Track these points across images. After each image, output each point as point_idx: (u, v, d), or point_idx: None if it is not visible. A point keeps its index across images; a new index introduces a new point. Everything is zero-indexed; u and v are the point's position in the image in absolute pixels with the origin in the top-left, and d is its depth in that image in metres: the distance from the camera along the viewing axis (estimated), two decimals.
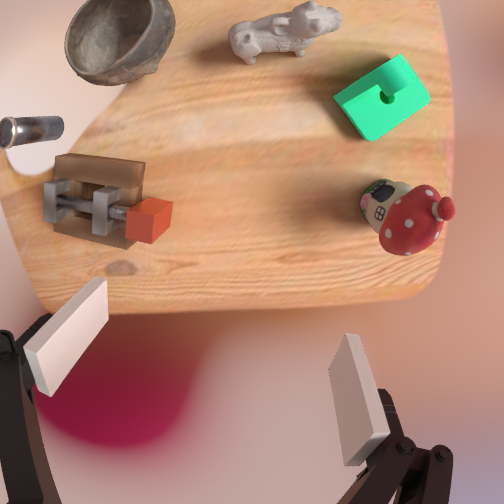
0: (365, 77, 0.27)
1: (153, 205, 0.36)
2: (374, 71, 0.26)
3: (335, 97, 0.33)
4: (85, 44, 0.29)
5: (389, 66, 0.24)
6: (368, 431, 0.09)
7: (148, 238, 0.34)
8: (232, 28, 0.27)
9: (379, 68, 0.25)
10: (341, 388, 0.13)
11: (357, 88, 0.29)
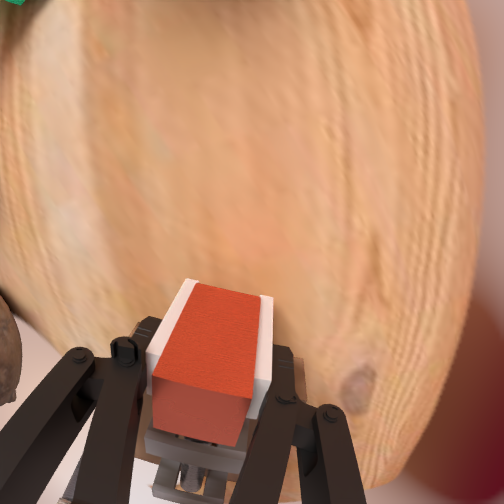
0: None
1: None
2: None
3: (14, 0, 0.10)
4: None
5: None
6: None
7: (231, 403, 0.10)
8: None
9: None
10: None
11: None
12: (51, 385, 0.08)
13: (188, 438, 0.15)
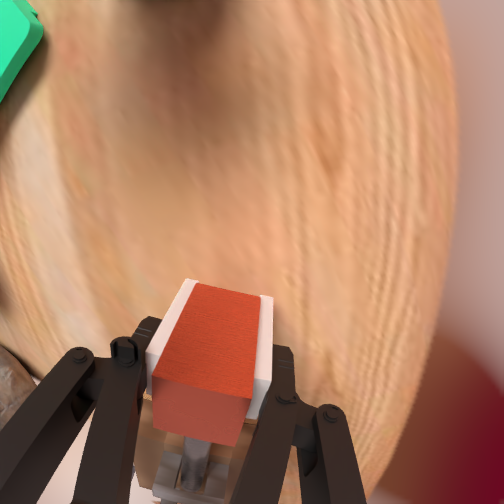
0: None
1: None
2: None
3: None
4: None
5: None
6: None
7: (231, 403, 0.10)
8: None
9: None
10: None
11: None
12: (51, 385, 0.08)
13: (188, 438, 0.15)
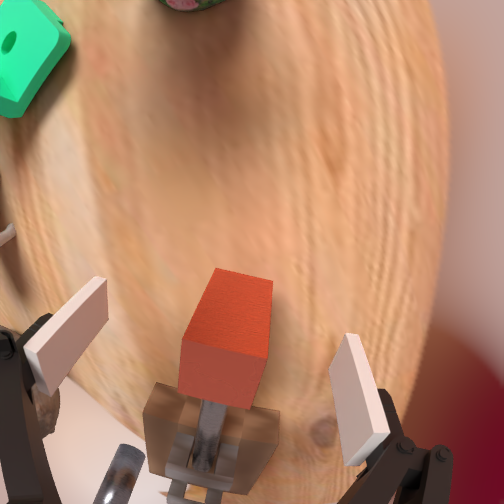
0: None
1: None
2: None
3: (14, 115, 0.16)
4: None
5: None
6: (368, 431, 0.09)
7: (249, 363, 0.12)
8: None
9: None
10: (341, 388, 0.13)
11: None
12: None
13: (204, 412, 0.17)
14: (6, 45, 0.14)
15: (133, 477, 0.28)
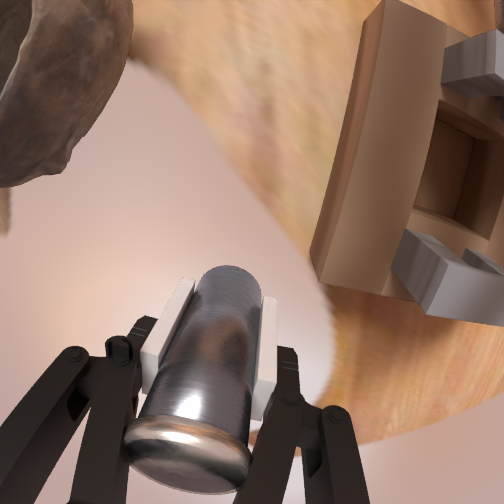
0: None
1: None
2: None
3: None
4: None
5: None
6: (256, 379, 0.11)
7: None
8: None
9: None
10: None
11: None
12: (47, 384, 0.08)
13: None
14: None
15: (255, 330, 0.14)
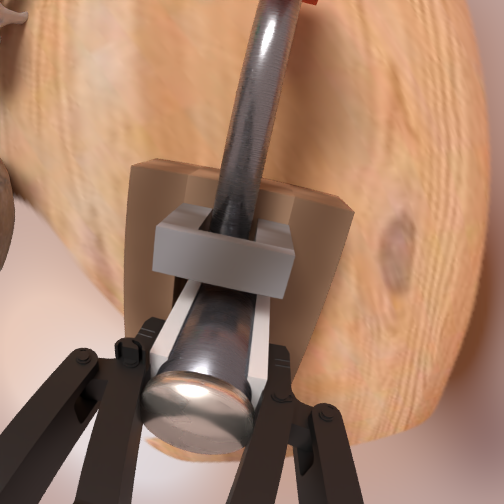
0: None
1: None
2: None
3: None
4: None
5: None
6: (247, 376, 0.11)
7: None
8: None
9: None
10: None
11: None
12: (54, 386, 0.08)
13: (255, 45, 0.10)
14: None
15: None
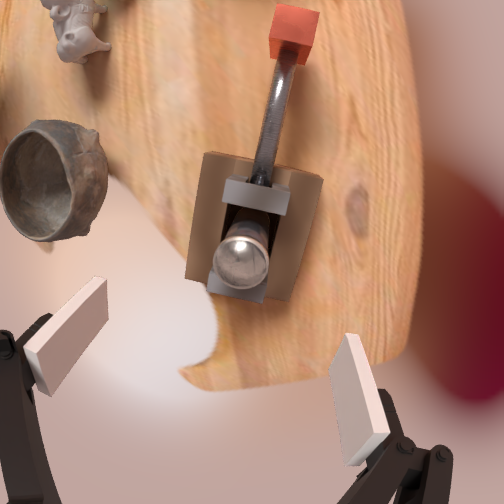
0: None
1: None
2: None
3: None
4: (61, 227, 0.32)
5: None
6: (368, 431, 0.09)
7: (311, 14, 0.18)
8: (61, 56, 0.23)
9: None
10: (341, 388, 0.13)
11: None
12: None
13: (272, 97, 0.24)
14: None
15: (267, 229, 0.31)
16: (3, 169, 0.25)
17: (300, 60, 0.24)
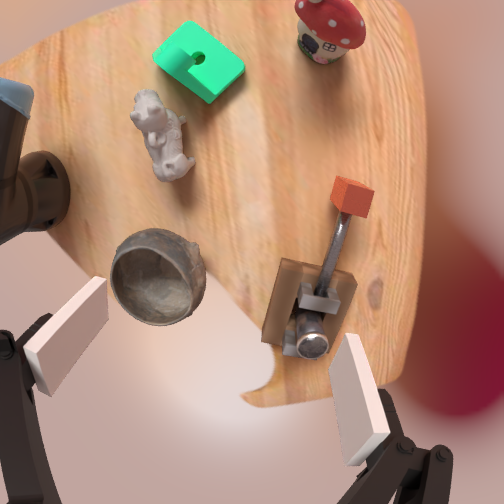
0: (183, 82, 0.32)
1: (338, 189, 0.38)
2: (175, 76, 0.31)
3: (209, 101, 0.38)
4: (163, 307, 0.47)
5: (166, 66, 0.29)
6: (368, 431, 0.09)
7: (369, 193, 0.34)
8: (160, 178, 0.38)
9: (170, 73, 0.30)
10: (341, 388, 0.13)
11: (195, 86, 0.34)
12: None
13: (334, 242, 0.39)
14: None
15: (320, 314, 0.46)
16: (113, 269, 0.41)
17: None
